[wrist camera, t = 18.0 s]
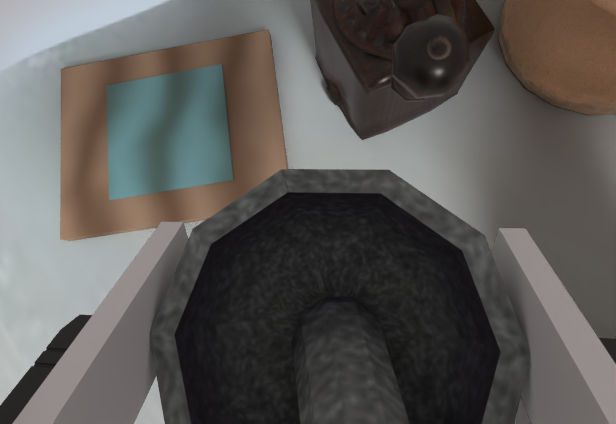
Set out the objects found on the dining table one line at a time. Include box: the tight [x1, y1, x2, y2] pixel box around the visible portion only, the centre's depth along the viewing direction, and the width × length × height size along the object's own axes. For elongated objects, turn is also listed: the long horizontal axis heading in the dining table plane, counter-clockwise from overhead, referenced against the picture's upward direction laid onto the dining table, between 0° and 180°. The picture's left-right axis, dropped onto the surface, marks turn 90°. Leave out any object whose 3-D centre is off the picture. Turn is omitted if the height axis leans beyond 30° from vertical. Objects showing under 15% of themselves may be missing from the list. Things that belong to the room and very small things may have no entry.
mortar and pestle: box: [150, 169, 531, 424], centre depth 10 cm, size 11×9×12 cm
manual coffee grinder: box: [310, 0, 495, 140], centre depth 27 cm, size 16×11×18 cm
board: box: [60, 30, 288, 241], centre depth 36 cm, size 22×18×1 cm
